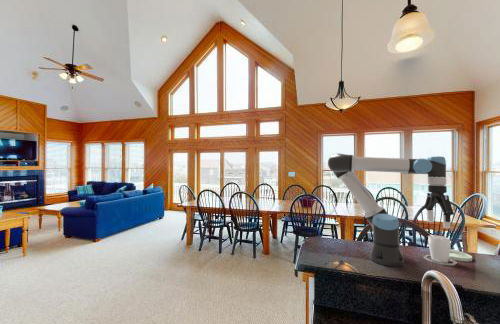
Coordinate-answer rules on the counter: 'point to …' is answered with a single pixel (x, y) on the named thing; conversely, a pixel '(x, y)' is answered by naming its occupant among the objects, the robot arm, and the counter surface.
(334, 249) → the counter surface
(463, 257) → the pale green flat disc
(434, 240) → the cup
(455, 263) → the seat ring
